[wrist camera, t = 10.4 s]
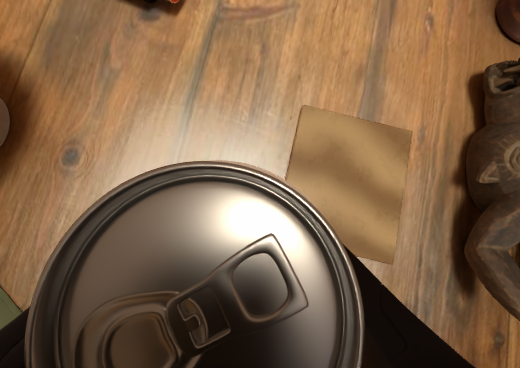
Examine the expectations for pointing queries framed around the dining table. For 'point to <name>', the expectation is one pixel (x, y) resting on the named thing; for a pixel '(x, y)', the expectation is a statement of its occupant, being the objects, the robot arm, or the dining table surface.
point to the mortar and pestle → (509, 17)
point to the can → (198, 278)
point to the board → (352, 177)
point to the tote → (7, 309)
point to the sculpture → (497, 186)
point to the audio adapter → (172, 0)
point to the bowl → (3, 121)
